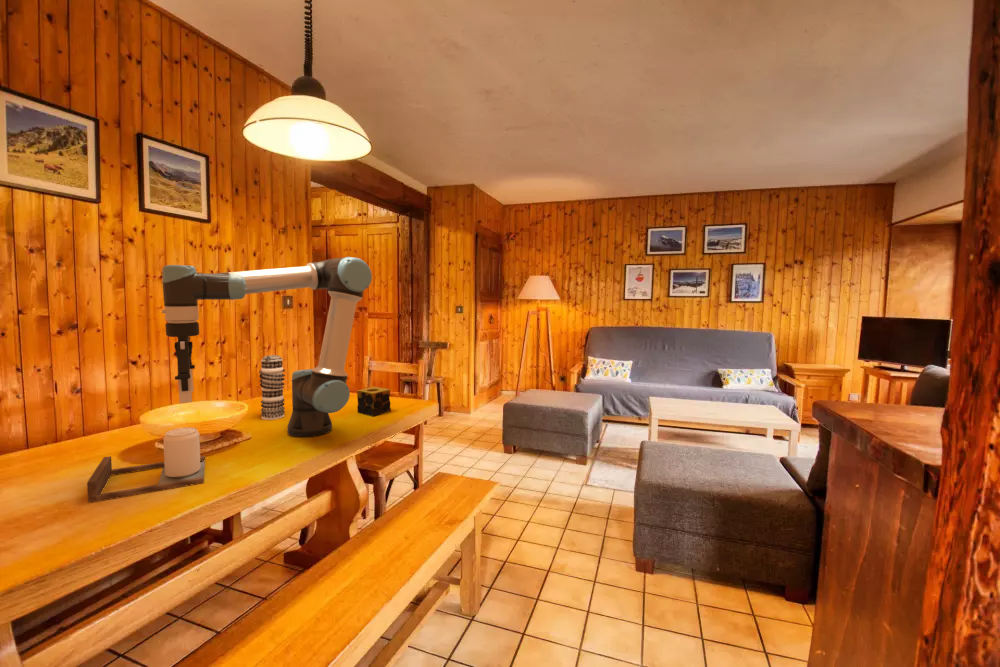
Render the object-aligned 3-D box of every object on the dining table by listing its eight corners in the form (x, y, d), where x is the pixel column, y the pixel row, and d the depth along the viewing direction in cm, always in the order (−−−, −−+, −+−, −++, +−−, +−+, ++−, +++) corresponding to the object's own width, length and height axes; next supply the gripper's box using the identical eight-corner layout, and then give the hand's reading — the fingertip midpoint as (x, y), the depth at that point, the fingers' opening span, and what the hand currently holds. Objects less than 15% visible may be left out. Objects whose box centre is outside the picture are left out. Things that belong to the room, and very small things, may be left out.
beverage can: (170, 468, 125) (169, 428, 124) (204, 465, 128) (202, 425, 127) (160, 480, 118) (158, 437, 116) (196, 476, 121) (194, 434, 119)
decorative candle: (268, 413, 183) (267, 354, 181) (290, 414, 183) (289, 354, 180) (255, 419, 174) (253, 357, 172) (278, 420, 174) (276, 358, 171)
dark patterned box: (391, 411, 191) (391, 389, 190) (373, 417, 183) (373, 393, 182) (374, 407, 197) (375, 386, 196) (356, 412, 188) (356, 390, 187)
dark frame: (205, 459, 133) (204, 443, 133) (203, 482, 118) (202, 464, 117) (105, 474, 121) (104, 457, 120) (88, 502, 105) (87, 482, 105)
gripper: (168, 318, 129) (173, 389, 131) (161, 326, 108) (166, 409, 111) (199, 318, 133) (203, 386, 136) (197, 324, 113) (202, 405, 115)
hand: (187, 396), depth 123 cm, fingers open, 13 cm apart
